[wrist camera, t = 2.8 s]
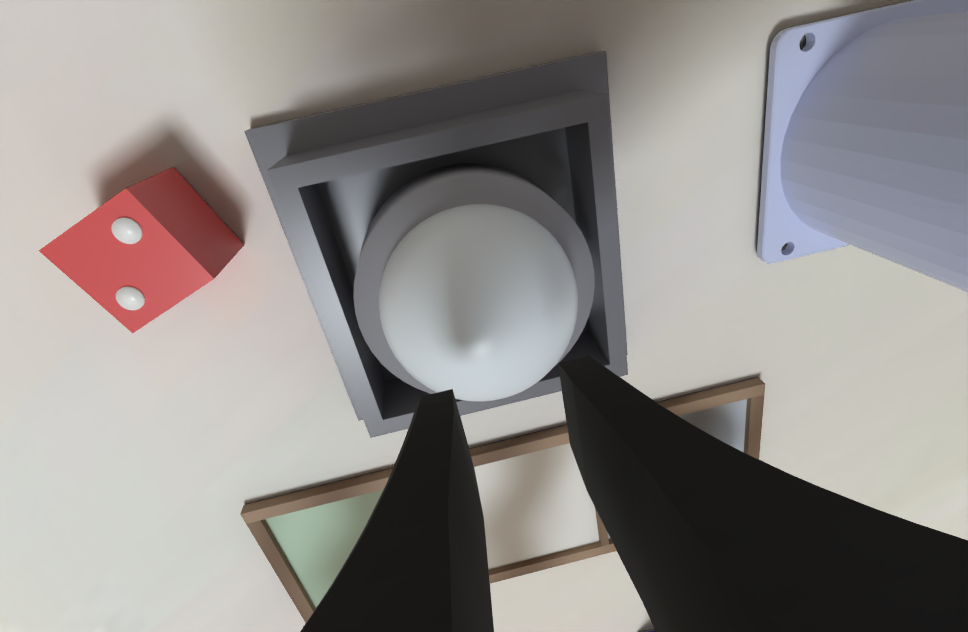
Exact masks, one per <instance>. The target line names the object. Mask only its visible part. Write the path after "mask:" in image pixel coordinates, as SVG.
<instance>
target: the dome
mask: <svg viewBox="0 0 968 632" xmlns="http://www.w3.org/2000/svg"><path fill="white" fill-rule="evenodd" d="M594 287H595V281H594V268H593V262H592V257H591V254H590V251H589V247H588V244H587V242H586V240H585V238H584V236H583V234H582V232H581V230H580V229H579V227H578V226H577V224H576V223H575V222H574V220H573V219H572V217H571V216H570V215H569V214H568V213H567V212H566V211H565V210H564V209H563V208H562V207H561V206H560V205H559V204H558V203H557V202H556V201H555V200H554V199H552V198H551V197H550V196H549V195H548V194H547V193H546V192H545V191H544V190H542V189H541V188H540V187H539V186H537V185H536V184H535V183H534V182H532V181H531V180H529V179H527V178H525V177H524V176H522V175H520V174H518V173H516V172H513V171H511V170H508V169H506V168H502V167H498V166H494V165H488V164H479V163H461V164H455V165H448V166H444V167H440V168H437V169H434V170H430V171H428V172H426V173H424V174H422V175H419V176H417V177H415V178H414V179H412V180H411V181H409V182H407V183H406V184H404V185H403V186H402V187H400V188H399V189H398V190H397V191H396V192H394V193H393V194H392V195H391V196H390V197H389V198H388V199H387V201H386V202H385V203H384V204H383V205H382V206H381V208H380V209H379V210H378V212H377V213H376V215H375V216H374V218H373V220H372V222H371V224H370V226H369V228H368V230H367V232H366V235H365V238H364V241H363V244H362V248H361V252H360V256H359V261H358V265H357V269H356V275H355V281H354V306H355V314H356V318H357V321H358V325H359V328H360V330H361V333H362V335H363V337H364V340H365V342H366V343H367V345H368V346H369V348H370V350H371V351H372V353H373V354H374V355H375V356H376V358H377V359H378V360H379V361H380V363H381V364H382V365H383V366H384V367H386V368H387V369H388V370H389V371H390V372H391V373H392V374H394V375H395V376H396V377H398V378H399V379H401V380H402V381H403V382H405V383H407V384H409V385H411V386H413V387H415V388H417V389H419V390H422V391H425V392H427V393H430V394H434V393H438V392H442V391H446V390H450V389H453V392H454V396H455V399H459V400H466V401H493V400H498V399H503V398H506V397H509V396H513V395H515V394H517V393H520V392H522V391H524V390H526V389H528V388H529V387H531V386H533V385H534V384H535V383H537V382H538V381H540V380H541V379H542V378H543V377H544V376H545V375H546V374H547V373H549V372H550V370H551V369H552V368H553V367H554V366H556V365H557V364H558V363H559V362H560V361H561V360H562V359H563V358H564V357H565V356H566V354H567V353H568V352H569V351H570V350H571V348H572V347H573V346H574V344H575V343H576V341H577V340H578V338H579V336H580V334H581V333H582V331H583V329H584V327H585V325H586V322H587V319H588V317H589V314H590V311H591V307H592V302H593V296H594Z"/></svg>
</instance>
